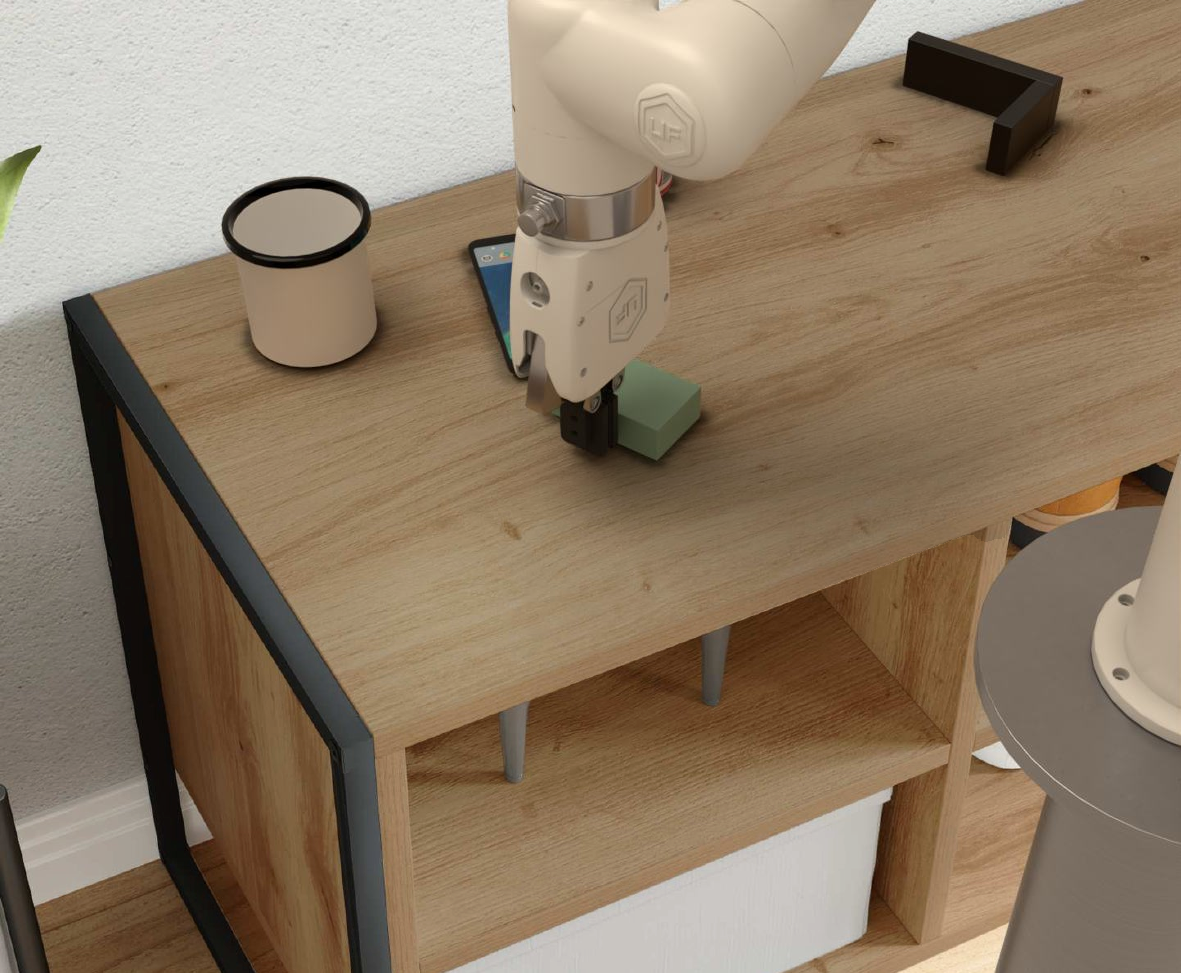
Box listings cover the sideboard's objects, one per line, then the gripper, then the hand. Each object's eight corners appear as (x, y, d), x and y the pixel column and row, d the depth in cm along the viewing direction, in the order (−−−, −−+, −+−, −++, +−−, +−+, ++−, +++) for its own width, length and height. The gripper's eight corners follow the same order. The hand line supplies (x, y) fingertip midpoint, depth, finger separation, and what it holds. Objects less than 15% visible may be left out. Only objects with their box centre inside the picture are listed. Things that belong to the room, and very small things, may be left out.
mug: (409, 345, 114) (395, 231, 108) (277, 393, 111) (254, 278, 104) (335, 254, 121) (318, 141, 115) (209, 296, 118) (184, 183, 112)
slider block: (700, 417, 109) (701, 386, 107) (656, 461, 106) (657, 430, 104) (596, 372, 112) (596, 341, 110) (551, 414, 109) (550, 383, 107)
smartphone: (564, 224, 122) (616, 352, 112) (564, 233, 122) (616, 362, 112) (465, 239, 121) (509, 370, 111) (465, 248, 121) (510, 380, 111)
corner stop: (1003, 176, 127) (1012, 127, 124) (857, 124, 132) (862, 77, 129) (1054, 124, 131) (1063, 76, 128) (911, 77, 136) (917, 30, 133)
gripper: (560, 280, 87) (567, 537, 100) (719, 145, 95) (706, 399, 109) (444, 231, 90) (466, 487, 103) (608, 104, 98) (608, 356, 112)
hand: (589, 441), depth 106 cm, fingers closed
